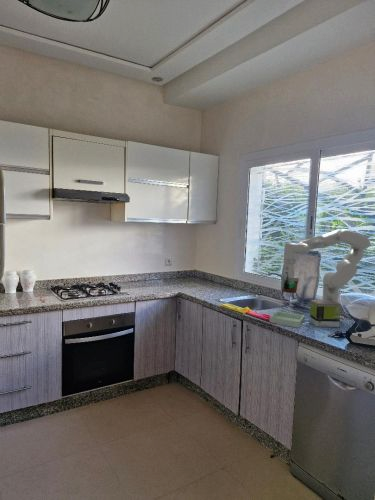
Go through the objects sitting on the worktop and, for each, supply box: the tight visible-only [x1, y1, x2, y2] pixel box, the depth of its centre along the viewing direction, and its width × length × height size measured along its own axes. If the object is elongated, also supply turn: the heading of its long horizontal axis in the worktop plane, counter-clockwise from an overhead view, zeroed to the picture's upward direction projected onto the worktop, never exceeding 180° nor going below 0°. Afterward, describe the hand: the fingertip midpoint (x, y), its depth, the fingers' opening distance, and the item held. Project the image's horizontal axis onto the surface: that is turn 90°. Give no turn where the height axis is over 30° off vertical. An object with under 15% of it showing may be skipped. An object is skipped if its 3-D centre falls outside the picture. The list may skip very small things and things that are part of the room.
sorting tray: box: [268, 310, 306, 329], centre depth 222 cm, size 18×18×4 cm
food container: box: [280, 275, 300, 294], centre depth 231 cm, size 12×6×10 cm, turn 43°
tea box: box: [309, 299, 341, 328], centre depth 219 cm, size 15×10×15 cm, turn 92°
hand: (287, 288), depth 232 cm, fingers closed on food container, 5 cm apart
